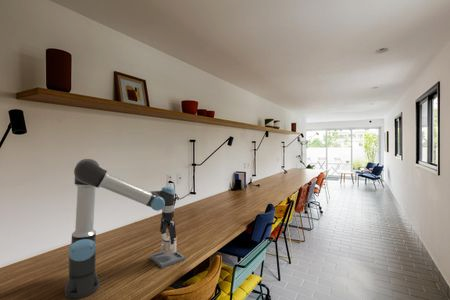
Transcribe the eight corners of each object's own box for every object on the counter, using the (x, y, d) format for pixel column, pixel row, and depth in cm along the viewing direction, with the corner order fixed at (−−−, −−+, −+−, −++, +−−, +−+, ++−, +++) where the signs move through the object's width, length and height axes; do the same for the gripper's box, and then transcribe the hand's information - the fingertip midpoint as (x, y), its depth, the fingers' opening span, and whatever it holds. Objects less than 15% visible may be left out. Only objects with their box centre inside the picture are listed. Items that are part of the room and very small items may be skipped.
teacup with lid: (169, 247, 166) (169, 230, 165) (179, 250, 161) (179, 233, 160) (155, 254, 156) (155, 235, 155) (166, 258, 151) (166, 239, 150)
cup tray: (161, 268, 147) (161, 264, 147) (149, 258, 159) (149, 255, 159) (185, 259, 158) (185, 256, 158) (172, 251, 170) (172, 248, 170)
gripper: (182, 214, 152) (181, 250, 153) (164, 206, 168) (164, 239, 169) (171, 216, 147) (171, 253, 148) (154, 208, 163) (154, 242, 164)
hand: (167, 246), depth 158 cm, fingers closed on teacup with lid, 9 cm apart
